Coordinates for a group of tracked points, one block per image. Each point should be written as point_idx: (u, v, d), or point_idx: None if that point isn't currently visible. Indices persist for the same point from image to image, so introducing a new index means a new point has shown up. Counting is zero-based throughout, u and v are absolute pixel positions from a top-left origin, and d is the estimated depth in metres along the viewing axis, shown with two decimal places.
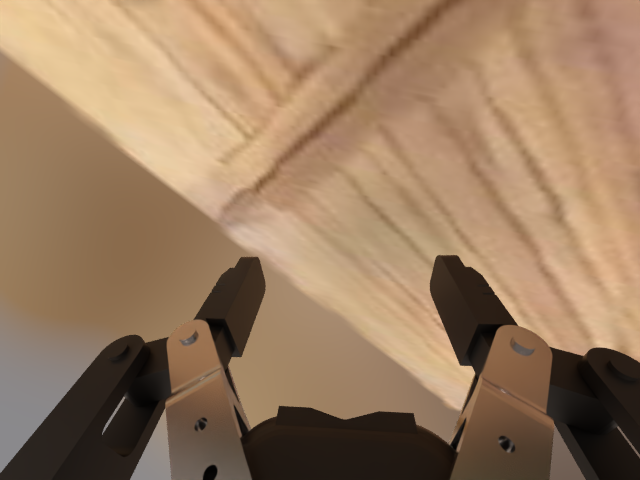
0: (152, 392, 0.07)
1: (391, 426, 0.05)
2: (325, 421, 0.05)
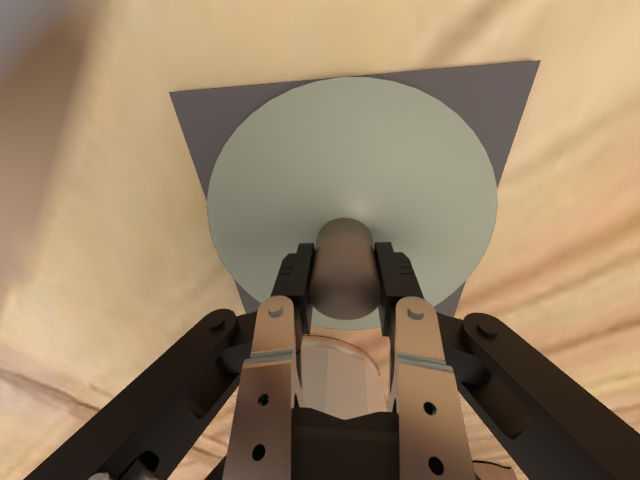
0: (242, 362, 0.08)
1: (391, 426, 0.05)
2: (325, 421, 0.05)
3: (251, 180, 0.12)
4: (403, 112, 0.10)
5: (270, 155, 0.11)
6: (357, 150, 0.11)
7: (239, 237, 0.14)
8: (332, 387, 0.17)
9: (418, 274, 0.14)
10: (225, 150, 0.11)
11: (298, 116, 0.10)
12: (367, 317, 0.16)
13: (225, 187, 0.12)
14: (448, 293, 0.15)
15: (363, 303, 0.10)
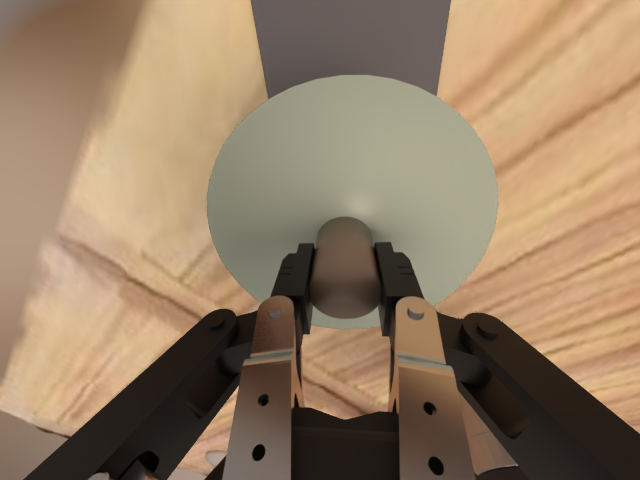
0: (242, 362, 0.08)
1: (391, 426, 0.05)
2: (325, 421, 0.05)
3: (251, 179, 0.12)
4: (403, 110, 0.10)
5: (270, 153, 0.11)
6: (357, 148, 0.11)
7: (239, 236, 0.14)
8: None
9: (419, 273, 0.14)
10: (225, 148, 0.11)
11: (298, 114, 0.10)
12: (367, 316, 0.16)
13: (225, 186, 0.12)
14: (449, 293, 0.15)
15: (363, 302, 0.10)
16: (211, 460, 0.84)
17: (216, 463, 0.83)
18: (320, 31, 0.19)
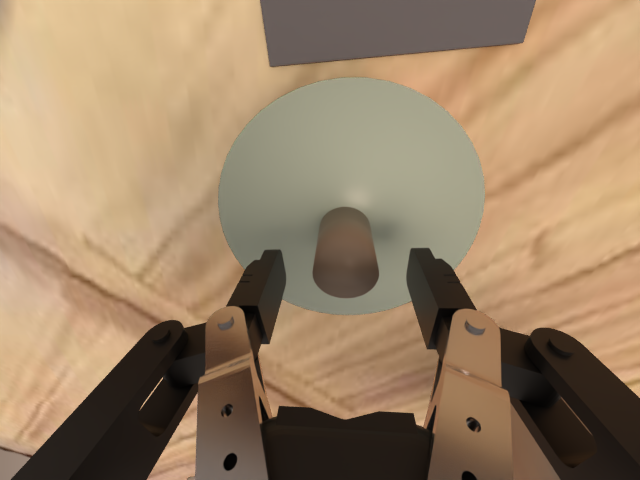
0: (190, 375, 0.08)
1: (391, 426, 0.05)
2: (325, 421, 0.05)
3: (259, 172, 0.13)
4: (398, 109, 0.11)
5: (277, 148, 0.12)
6: (356, 144, 0.12)
7: (247, 226, 0.15)
8: None
9: None
10: (236, 144, 0.12)
11: (303, 113, 0.11)
12: (366, 302, 0.18)
13: (235, 178, 0.13)
14: None
15: (362, 282, 0.11)
16: None
17: None
18: None
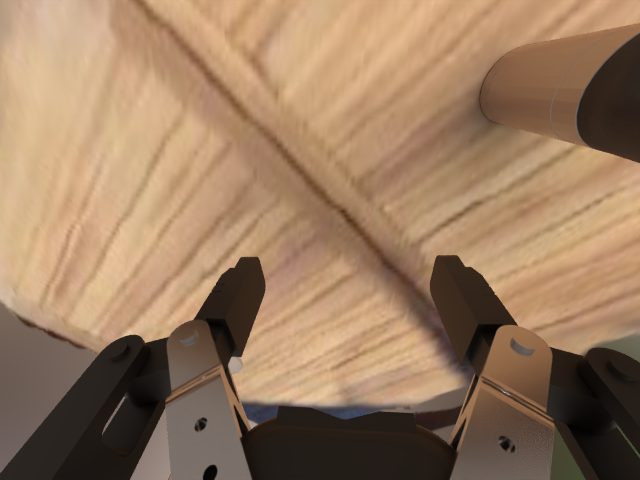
0: (152, 392, 0.07)
1: (391, 426, 0.05)
2: (325, 421, 0.05)
3: None
4: None
5: None
6: None
7: None
8: None
9: None
10: None
11: None
12: None
13: None
14: None
15: None
16: None
17: None
18: None
